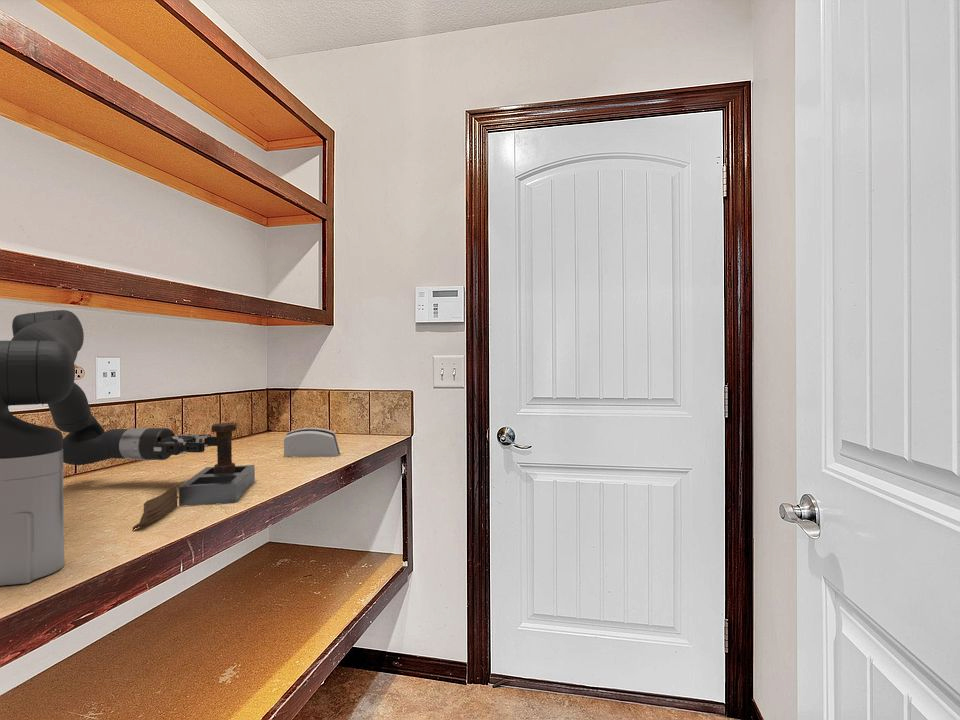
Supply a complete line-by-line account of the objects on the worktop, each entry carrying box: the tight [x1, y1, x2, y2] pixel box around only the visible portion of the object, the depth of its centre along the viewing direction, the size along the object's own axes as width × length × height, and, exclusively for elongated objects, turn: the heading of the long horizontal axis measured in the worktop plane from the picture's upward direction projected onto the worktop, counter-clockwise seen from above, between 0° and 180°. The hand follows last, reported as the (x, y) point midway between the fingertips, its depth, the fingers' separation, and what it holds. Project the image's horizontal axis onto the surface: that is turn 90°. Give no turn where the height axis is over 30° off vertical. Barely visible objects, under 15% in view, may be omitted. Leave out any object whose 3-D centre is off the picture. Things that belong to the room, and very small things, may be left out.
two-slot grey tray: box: [178, 464, 256, 507], centre depth 120 cm, size 20×11×4 cm, turn 13°
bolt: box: [210, 422, 237, 474], centre depth 124 cm, size 6×5×15 cm
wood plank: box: [132, 483, 179, 531], centre depth 101 cm, size 15×2×5 cm, turn 9°
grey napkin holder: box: [283, 427, 341, 458], centre depth 164 cm, size 17×5×10 cm, turn 93°
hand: (214, 444), depth 125 cm, fingers open, 8 cm apart
